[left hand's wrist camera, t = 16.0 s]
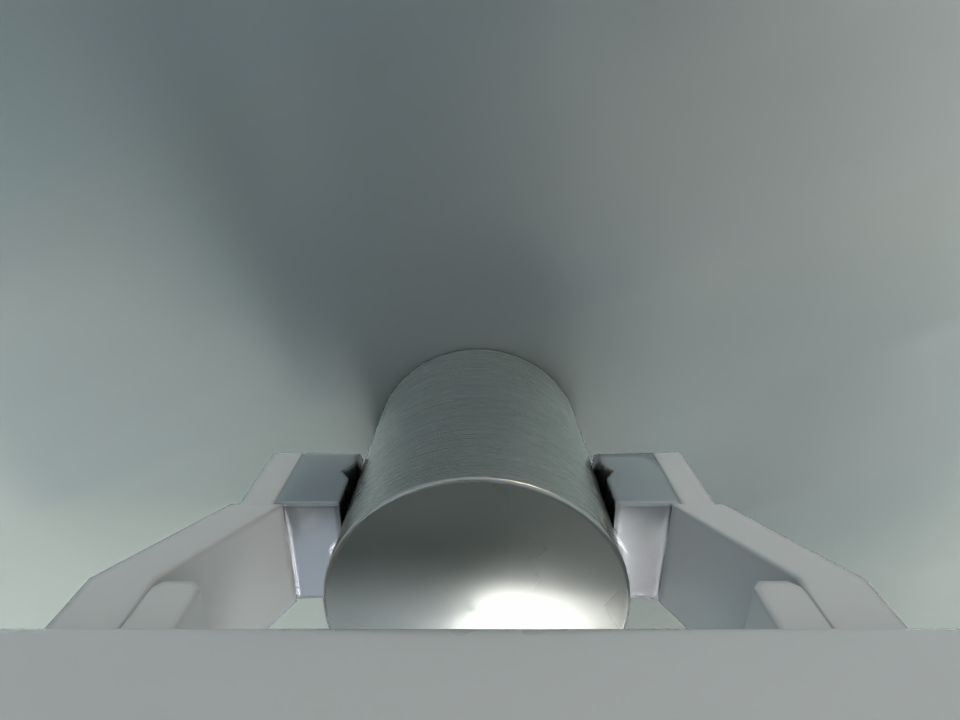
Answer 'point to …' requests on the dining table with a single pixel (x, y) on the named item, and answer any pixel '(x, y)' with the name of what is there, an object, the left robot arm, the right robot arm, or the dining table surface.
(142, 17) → the dining table surface
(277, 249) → the dining table surface
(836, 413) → the dining table surface
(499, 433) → the can
